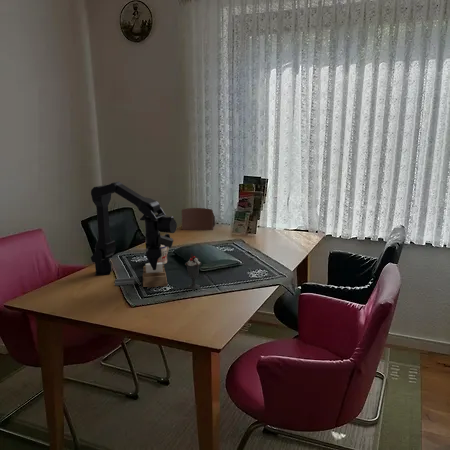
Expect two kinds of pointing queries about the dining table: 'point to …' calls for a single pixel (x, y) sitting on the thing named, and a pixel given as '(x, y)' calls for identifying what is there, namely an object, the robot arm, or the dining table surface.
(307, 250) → the dining table surface
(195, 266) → the sundae
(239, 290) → the dining table surface
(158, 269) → the upright white panel
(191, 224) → the letter holder
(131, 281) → the rails
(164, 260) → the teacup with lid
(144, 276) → the rack
